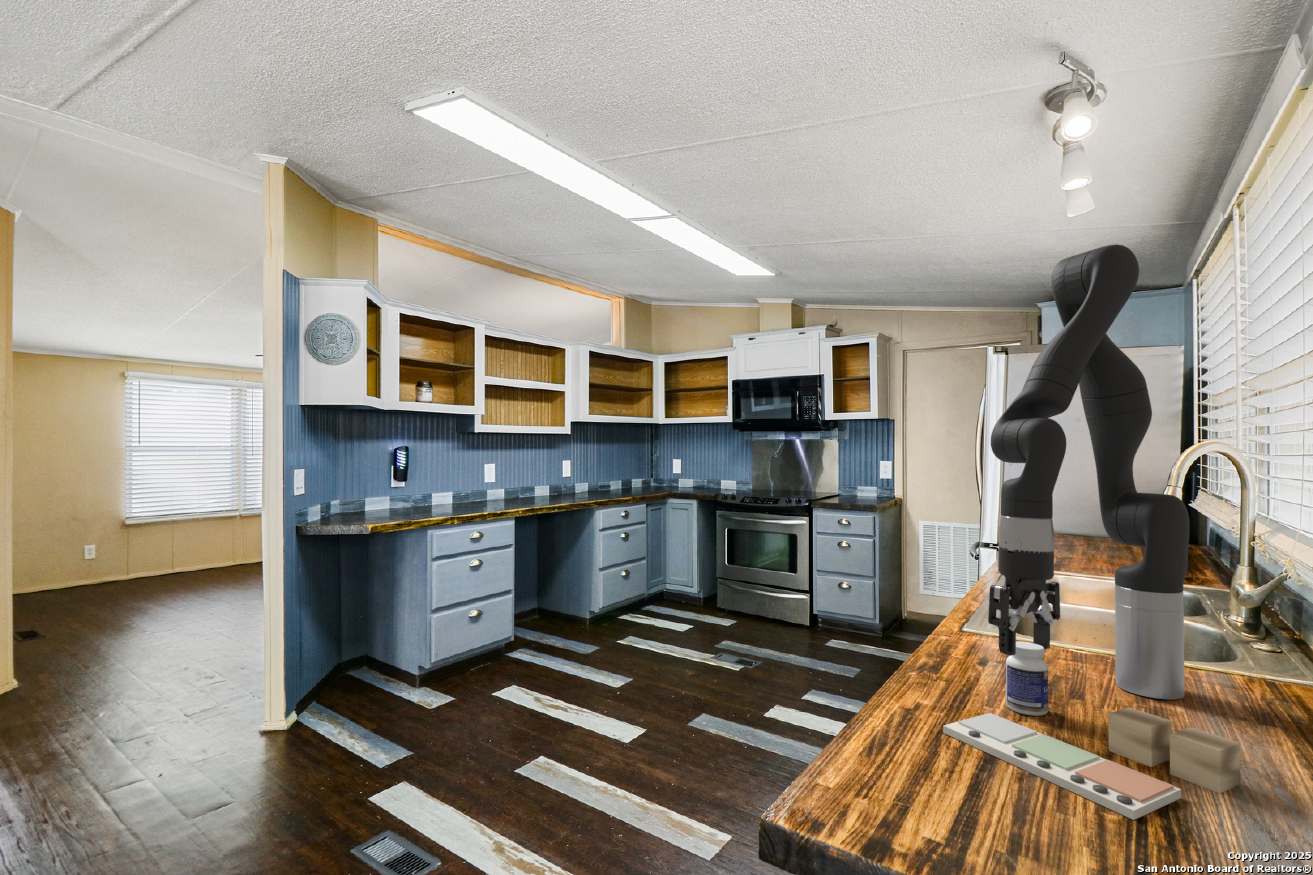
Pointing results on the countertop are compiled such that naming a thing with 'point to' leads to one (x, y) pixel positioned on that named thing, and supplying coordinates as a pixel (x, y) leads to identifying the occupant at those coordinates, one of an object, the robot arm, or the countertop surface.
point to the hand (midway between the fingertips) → (1024, 650)
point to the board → (1066, 765)
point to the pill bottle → (1027, 680)
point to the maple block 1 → (1139, 736)
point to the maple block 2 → (1205, 759)
